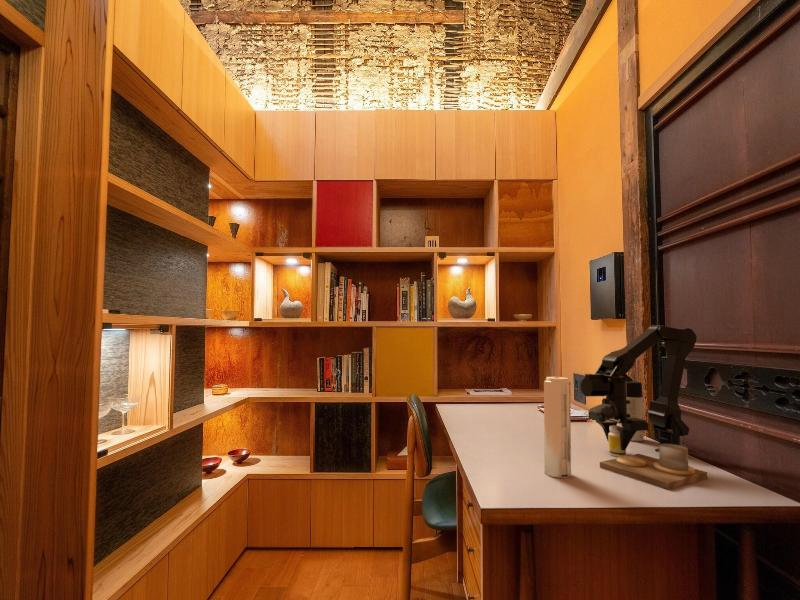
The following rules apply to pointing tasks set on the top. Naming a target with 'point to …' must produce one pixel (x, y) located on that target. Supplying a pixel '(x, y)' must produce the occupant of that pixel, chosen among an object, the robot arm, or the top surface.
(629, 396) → the spray can
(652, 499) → the top surface
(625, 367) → the robot arm
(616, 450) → the supplement bottle
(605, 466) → the board
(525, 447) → the top surface
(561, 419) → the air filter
